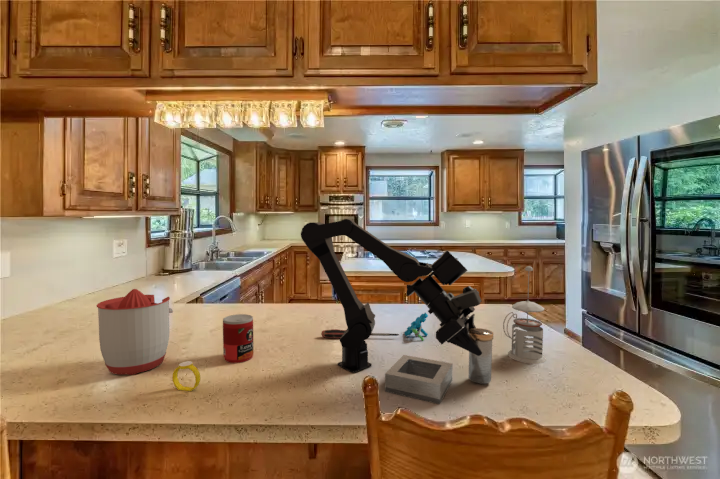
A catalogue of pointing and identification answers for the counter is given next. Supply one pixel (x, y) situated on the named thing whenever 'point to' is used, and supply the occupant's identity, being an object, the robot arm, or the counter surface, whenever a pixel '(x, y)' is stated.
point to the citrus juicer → (133, 332)
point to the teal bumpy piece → (417, 327)
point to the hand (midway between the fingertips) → (482, 350)
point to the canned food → (238, 338)
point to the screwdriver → (338, 333)
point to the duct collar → (419, 378)
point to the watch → (185, 366)
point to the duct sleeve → (481, 356)
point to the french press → (526, 333)
